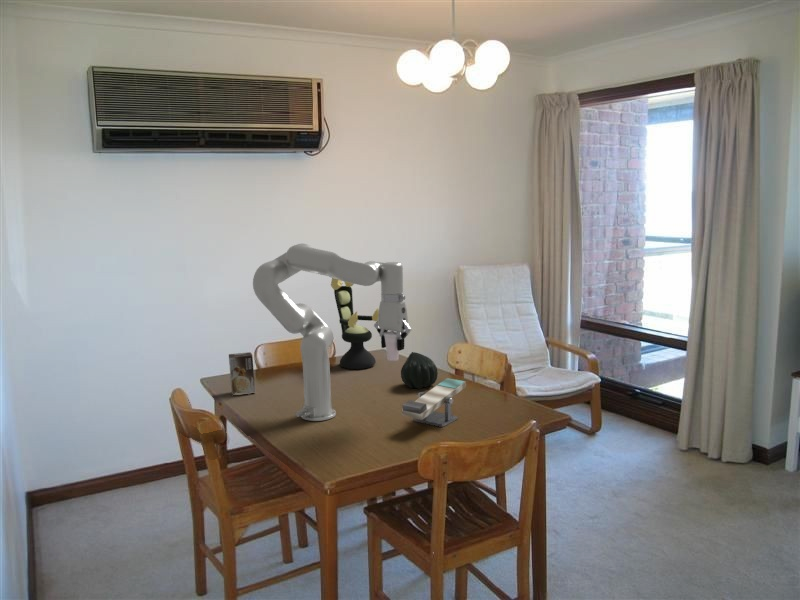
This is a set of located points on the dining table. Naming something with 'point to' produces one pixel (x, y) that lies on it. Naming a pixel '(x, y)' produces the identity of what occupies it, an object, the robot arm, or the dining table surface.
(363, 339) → the toy throne chair
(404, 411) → the beam
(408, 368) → the squash
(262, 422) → the dining table surface
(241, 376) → the coffee box
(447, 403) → the pivot stand
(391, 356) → the smoothie
